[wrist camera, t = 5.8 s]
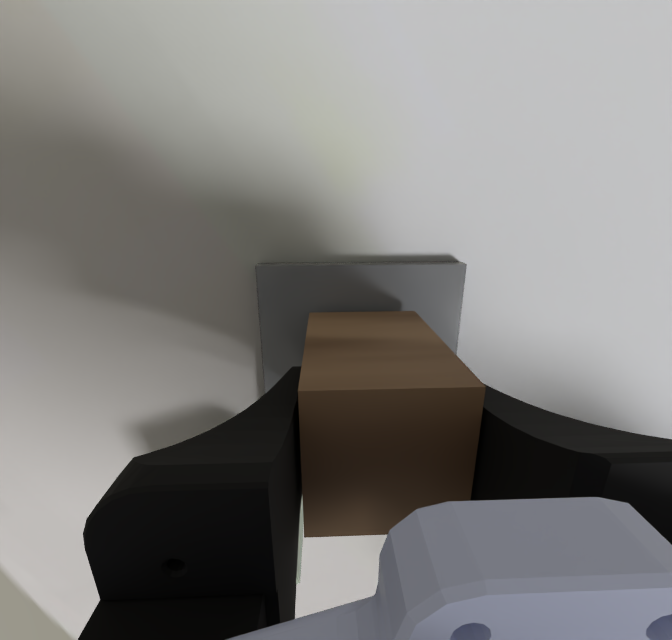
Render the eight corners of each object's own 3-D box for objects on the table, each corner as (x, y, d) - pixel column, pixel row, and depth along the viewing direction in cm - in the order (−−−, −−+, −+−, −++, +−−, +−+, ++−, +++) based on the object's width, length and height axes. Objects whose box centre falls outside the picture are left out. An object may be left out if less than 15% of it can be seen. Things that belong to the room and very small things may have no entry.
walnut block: (409, 403, 14) (466, 531, 8) (312, 406, 14) (304, 537, 8) (414, 310, 13) (485, 386, 7) (309, 312, 13) (297, 390, 7)
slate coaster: (460, 261, 14) (466, 264, 13) (442, 432, 16) (446, 440, 16) (258, 263, 13) (255, 265, 13) (270, 436, 16) (268, 445, 15)
